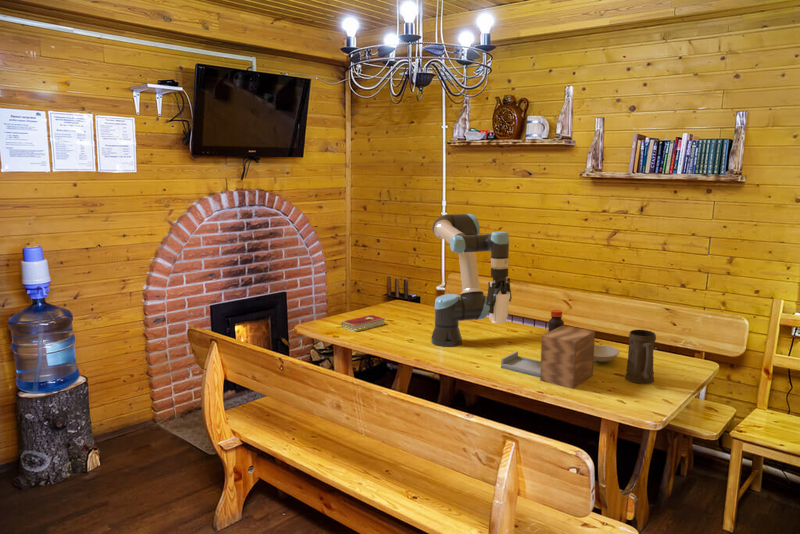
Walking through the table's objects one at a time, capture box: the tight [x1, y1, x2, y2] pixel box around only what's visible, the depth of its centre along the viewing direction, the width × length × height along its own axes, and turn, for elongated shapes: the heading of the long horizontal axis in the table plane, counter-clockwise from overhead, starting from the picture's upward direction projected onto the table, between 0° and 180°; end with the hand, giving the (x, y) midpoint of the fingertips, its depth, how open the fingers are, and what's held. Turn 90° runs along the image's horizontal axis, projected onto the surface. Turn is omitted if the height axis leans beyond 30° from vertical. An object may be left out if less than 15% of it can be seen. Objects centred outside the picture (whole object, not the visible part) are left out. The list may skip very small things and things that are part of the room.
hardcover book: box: [340, 314, 386, 333], centre depth 316 cm, size 12×21×4 cm, turn 132°
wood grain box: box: [539, 324, 596, 390], centre depth 235 cm, size 14×19×19 cm
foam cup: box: [491, 291, 511, 324], centre depth 252 cm, size 10×9×13 cm
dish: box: [594, 344, 620, 363], centre depth 255 cm, size 18×14×5 cm
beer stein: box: [625, 329, 657, 385], centre depth 230 cm, size 15×11×20 cm
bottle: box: [547, 309, 565, 333], centre depth 266 cm, size 7×7×20 cm
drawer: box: [500, 351, 541, 378], centre depth 247 cm, size 20×13×4 cm, turn 49°
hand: (498, 318), depth 253 cm, fingers closed on foam cup, 9 cm apart
